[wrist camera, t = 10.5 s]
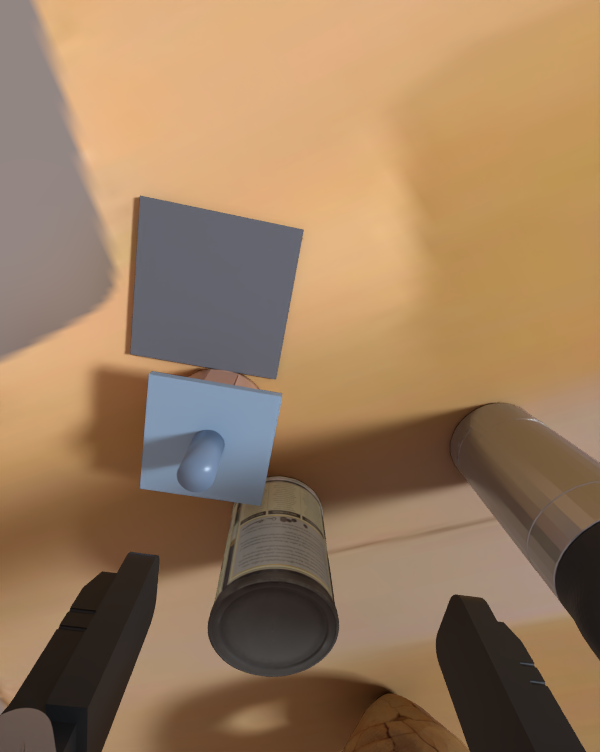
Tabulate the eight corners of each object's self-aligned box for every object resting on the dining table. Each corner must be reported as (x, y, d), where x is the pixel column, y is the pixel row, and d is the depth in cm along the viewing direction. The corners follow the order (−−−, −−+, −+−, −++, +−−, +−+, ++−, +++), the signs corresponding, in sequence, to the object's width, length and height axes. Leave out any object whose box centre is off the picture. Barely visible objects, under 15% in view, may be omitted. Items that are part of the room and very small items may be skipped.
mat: (303, 230, 35) (303, 229, 34) (276, 377, 39) (275, 379, 38) (142, 196, 33) (140, 195, 33) (132, 352, 38) (130, 354, 37)
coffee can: (335, 536, 45) (354, 658, 32) (251, 561, 46) (236, 691, 32) (306, 462, 42) (315, 563, 29) (217, 490, 43) (185, 601, 29)
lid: (282, 393, 33) (281, 422, 28) (261, 500, 37) (256, 545, 31) (152, 371, 32) (124, 396, 27) (143, 483, 36) (116, 526, 30)
